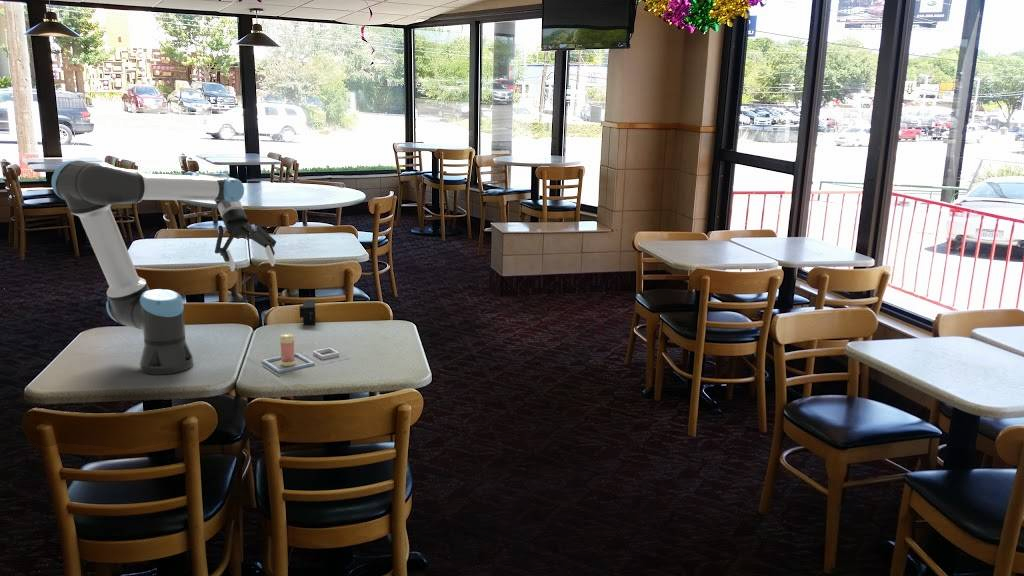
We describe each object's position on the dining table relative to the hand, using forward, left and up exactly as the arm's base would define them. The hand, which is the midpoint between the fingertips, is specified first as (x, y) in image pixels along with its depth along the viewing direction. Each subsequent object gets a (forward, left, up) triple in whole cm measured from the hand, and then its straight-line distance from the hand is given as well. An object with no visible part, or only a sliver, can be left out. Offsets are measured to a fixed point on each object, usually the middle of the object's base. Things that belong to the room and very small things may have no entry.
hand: (254, 266), depth 258 cm
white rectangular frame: (+12, -25, -28) cm, 39 cm away
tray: (-1, -25, -28) cm, 37 cm away
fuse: (-1, -25, -27) cm, 37 cm away
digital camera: (+27, +18, -28) cm, 43 cm away
